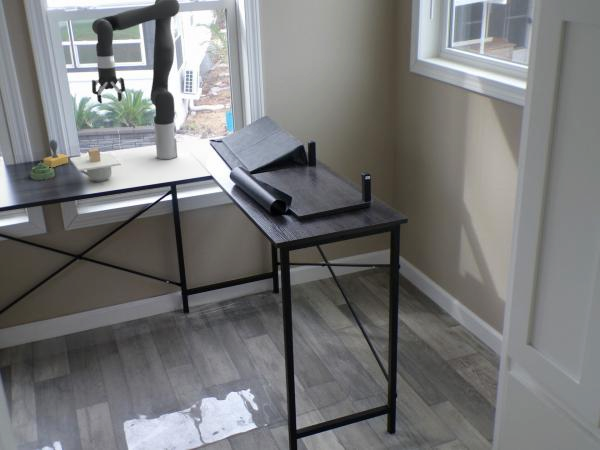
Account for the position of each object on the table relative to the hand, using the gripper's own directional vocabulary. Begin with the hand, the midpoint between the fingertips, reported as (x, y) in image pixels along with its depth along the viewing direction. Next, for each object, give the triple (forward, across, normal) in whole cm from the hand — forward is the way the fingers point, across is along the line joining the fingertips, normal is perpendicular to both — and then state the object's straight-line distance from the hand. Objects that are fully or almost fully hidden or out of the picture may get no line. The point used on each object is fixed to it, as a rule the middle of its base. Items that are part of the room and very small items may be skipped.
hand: (110, 102), depth 305 cm
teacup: (+30, +13, +16) cm, 37 cm away
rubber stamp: (+30, +25, -14) cm, 42 cm away
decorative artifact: (+30, +33, +1) cm, 45 cm away
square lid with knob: (+22, +13, +16) cm, 30 cm away
